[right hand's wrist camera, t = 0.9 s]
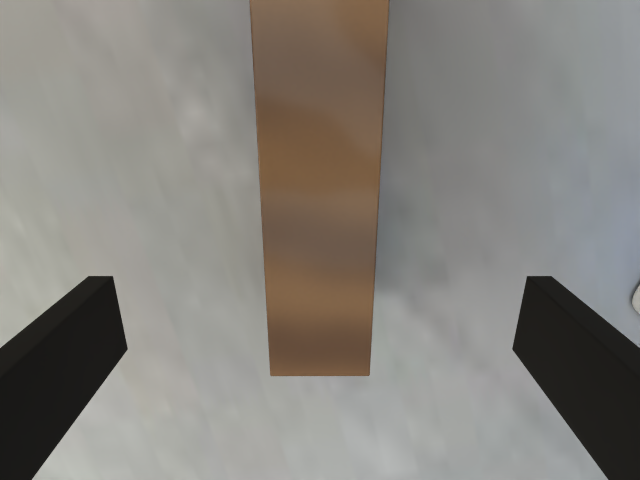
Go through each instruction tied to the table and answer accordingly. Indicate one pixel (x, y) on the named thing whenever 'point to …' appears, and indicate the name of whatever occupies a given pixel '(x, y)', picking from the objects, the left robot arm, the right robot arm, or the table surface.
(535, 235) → the table surface
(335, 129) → the bar
